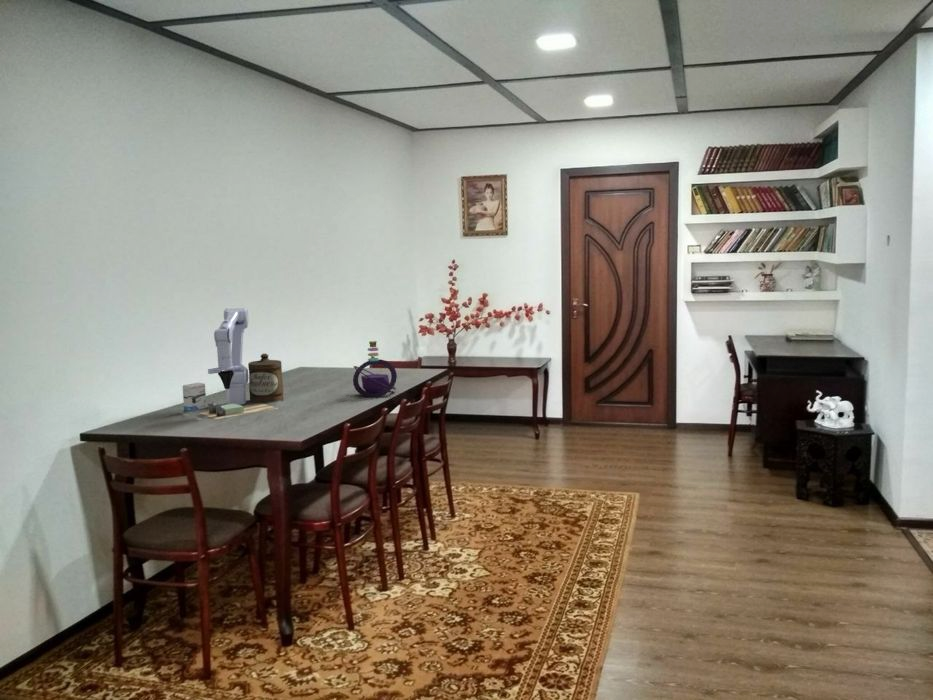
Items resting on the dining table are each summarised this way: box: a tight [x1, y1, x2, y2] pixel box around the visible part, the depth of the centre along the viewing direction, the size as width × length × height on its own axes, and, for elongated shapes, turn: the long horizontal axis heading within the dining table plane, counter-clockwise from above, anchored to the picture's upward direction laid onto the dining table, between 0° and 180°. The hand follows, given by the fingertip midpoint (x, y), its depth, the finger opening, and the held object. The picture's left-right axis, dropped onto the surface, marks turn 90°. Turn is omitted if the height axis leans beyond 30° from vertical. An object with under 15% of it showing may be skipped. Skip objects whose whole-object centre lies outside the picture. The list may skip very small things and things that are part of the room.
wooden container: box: [247, 353, 284, 404], centre depth 348 cm, size 15×15×22 cm
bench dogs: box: [207, 402, 224, 417], centre depth 318 cm, size 11×3×4 cm, turn 41°
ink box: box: [182, 382, 208, 412], centre depth 332 cm, size 8×5×12 cm, turn 149°
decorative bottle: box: [352, 340, 398, 399], centre depth 359 cm, size 22×21×25 cm
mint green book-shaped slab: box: [221, 403, 245, 415], centre depth 322 cm, size 10×8×2 cm
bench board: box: [199, 403, 280, 420], centre depth 325 cm, size 18×28×1 cm, turn 131°
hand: (227, 388), depth 325 cm, fingers closed
